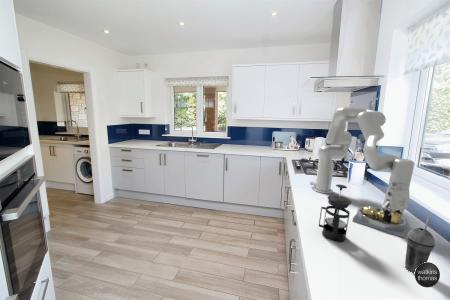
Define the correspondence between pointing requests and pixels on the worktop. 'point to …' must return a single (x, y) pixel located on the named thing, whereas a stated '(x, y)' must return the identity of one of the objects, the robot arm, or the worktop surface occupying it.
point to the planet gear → (395, 218)
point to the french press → (336, 218)
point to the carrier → (379, 220)
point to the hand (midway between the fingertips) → (391, 220)
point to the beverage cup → (418, 247)
